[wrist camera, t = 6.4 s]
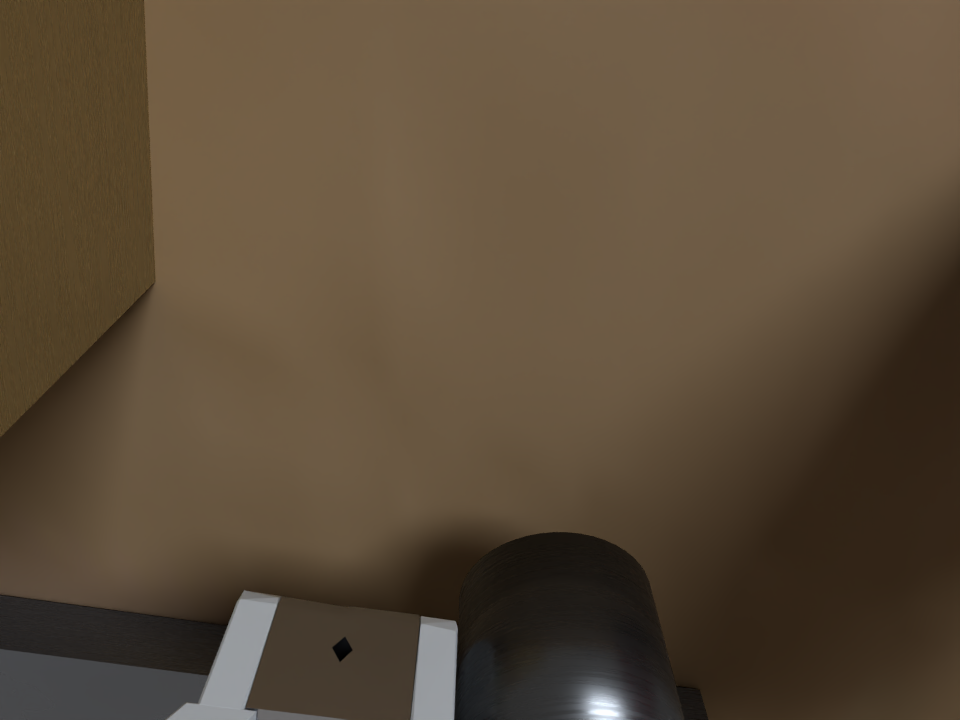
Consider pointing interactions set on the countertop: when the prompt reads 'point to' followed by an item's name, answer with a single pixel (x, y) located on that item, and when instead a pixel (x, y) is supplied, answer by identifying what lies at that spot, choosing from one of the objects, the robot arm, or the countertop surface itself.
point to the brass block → (69, 185)
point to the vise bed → (118, 663)
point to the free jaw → (561, 635)
